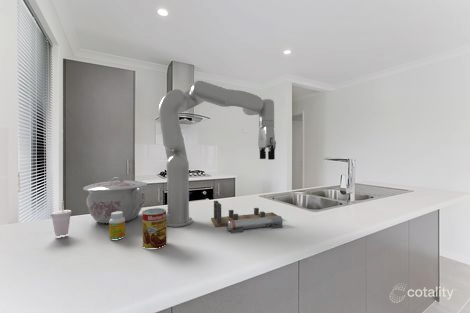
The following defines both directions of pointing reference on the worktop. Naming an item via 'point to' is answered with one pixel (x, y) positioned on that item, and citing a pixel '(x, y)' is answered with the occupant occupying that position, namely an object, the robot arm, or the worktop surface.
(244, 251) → the worktop surface
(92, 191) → the chamber pot
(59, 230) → the smoothie
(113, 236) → the supplement bottle
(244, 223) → the tube
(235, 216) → the brown board
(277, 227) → the set of grey slats
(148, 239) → the canned food
